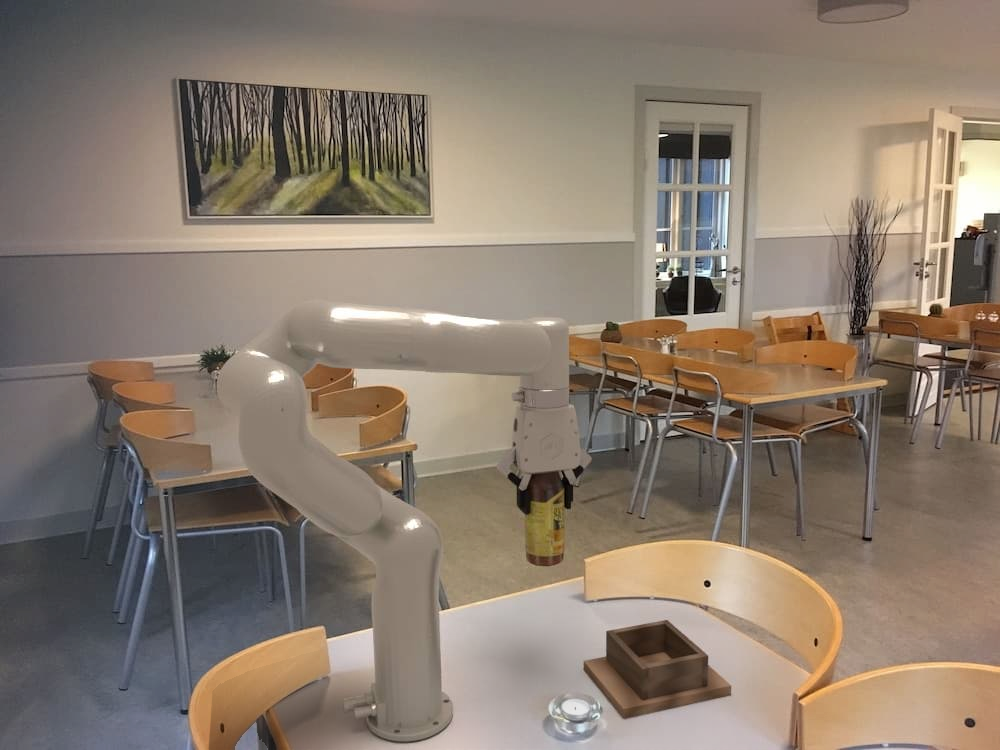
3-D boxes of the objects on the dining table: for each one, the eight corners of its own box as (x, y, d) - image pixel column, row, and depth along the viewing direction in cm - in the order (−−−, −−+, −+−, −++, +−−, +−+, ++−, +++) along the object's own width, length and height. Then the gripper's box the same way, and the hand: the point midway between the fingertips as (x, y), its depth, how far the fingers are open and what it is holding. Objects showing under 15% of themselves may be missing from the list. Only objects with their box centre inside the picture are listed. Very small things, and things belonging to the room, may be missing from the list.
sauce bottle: (562, 569, 120) (561, 445, 117) (522, 567, 122) (520, 443, 118) (566, 553, 127) (566, 435, 124) (529, 551, 128) (527, 433, 125)
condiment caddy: (623, 718, 112) (624, 677, 111) (583, 669, 125) (583, 631, 124) (730, 694, 117) (732, 654, 116) (681, 649, 131) (682, 613, 129)
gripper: (499, 406, 114) (500, 523, 117) (606, 398, 119) (605, 510, 122) (483, 397, 121) (485, 508, 124) (585, 389, 126) (585, 496, 129)
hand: (545, 508), depth 123 cm, fingers closed on sauce bottle, 6 cm apart
